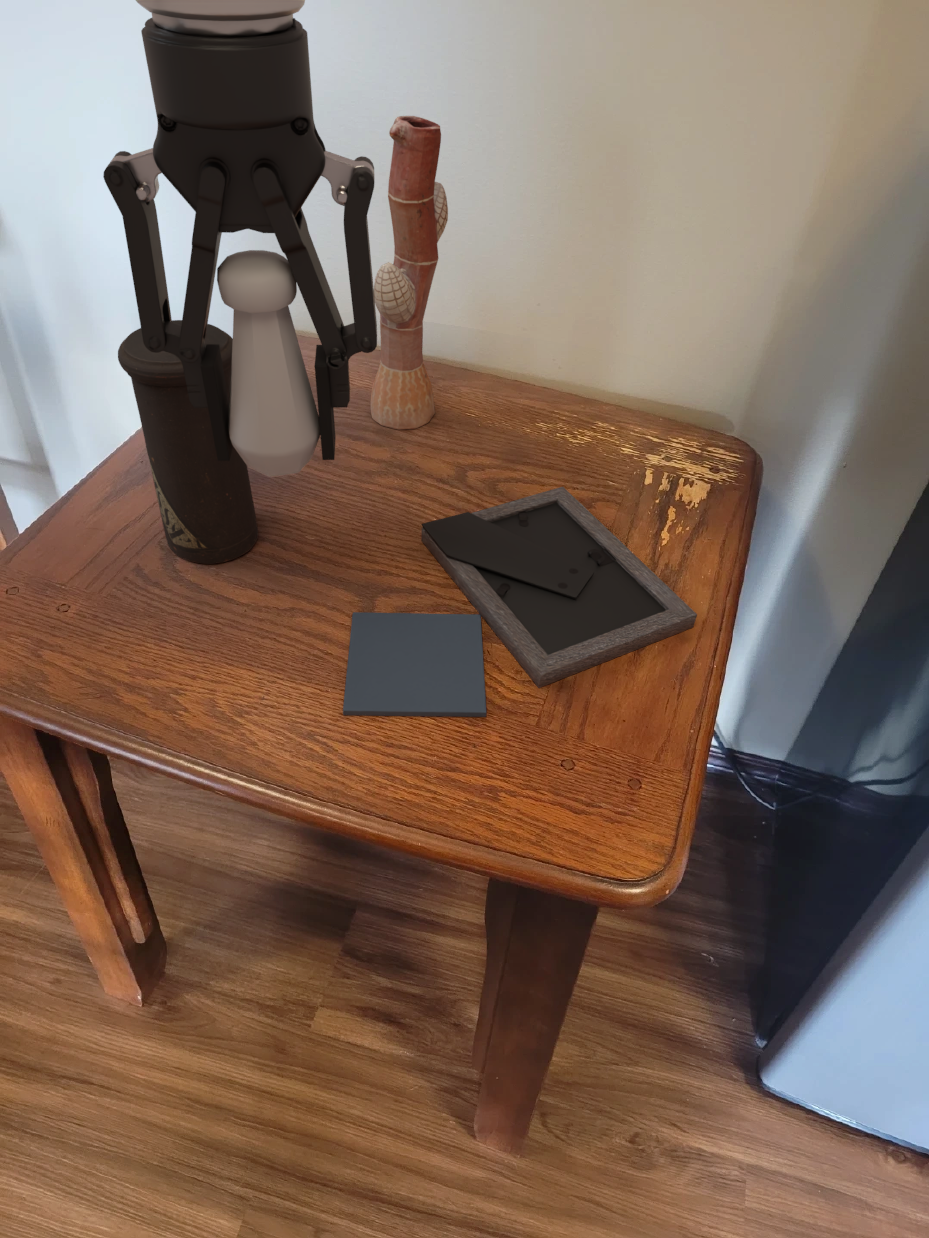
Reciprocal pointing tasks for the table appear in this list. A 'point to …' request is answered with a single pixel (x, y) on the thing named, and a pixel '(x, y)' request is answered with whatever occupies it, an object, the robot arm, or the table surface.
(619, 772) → the table surface
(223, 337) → the container
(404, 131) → the vase
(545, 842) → the table surface
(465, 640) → the mat
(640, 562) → the picture frame
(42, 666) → the table surface
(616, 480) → the table surface
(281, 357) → the salt shaker
